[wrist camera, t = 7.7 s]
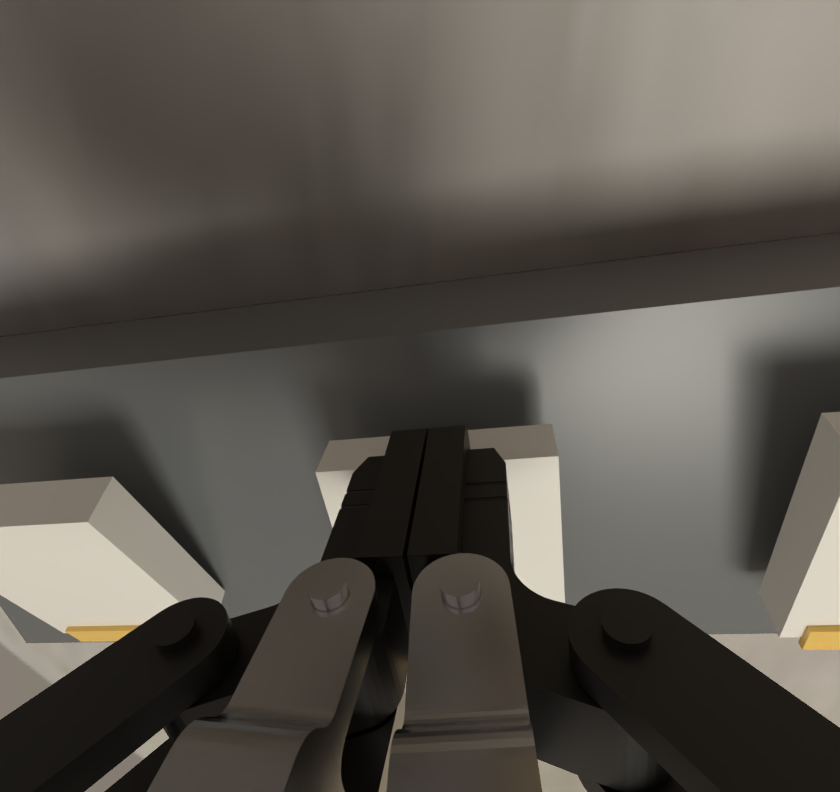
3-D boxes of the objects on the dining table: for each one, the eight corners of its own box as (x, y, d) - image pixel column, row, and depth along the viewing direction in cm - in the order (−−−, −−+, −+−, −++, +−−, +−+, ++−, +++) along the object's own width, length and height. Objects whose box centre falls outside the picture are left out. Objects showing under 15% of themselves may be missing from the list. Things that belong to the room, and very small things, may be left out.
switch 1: (-68, 488, 13) (-109, 538, 12) (112, 476, 12) (84, 528, 11) (88, 599, 18) (67, 641, 17) (229, 595, 17) (215, 640, 16)
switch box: (-27, 340, 18) (-149, 394, 15) (1102, 200, 13) (1333, 232, 9) (103, 571, 23) (34, 654, 19) (969, 538, 18) (1089, 645, 14)
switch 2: (329, 440, 12) (312, 477, 11) (551, 423, 12) (559, 460, 10) (381, 624, 15) (373, 668, 14) (561, 621, 14) (568, 667, 13)
